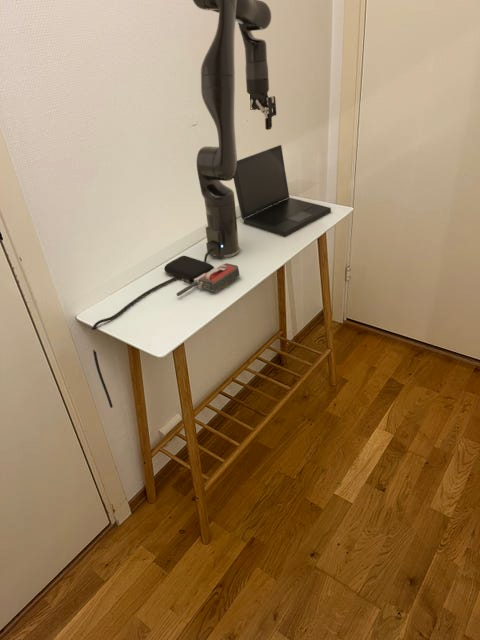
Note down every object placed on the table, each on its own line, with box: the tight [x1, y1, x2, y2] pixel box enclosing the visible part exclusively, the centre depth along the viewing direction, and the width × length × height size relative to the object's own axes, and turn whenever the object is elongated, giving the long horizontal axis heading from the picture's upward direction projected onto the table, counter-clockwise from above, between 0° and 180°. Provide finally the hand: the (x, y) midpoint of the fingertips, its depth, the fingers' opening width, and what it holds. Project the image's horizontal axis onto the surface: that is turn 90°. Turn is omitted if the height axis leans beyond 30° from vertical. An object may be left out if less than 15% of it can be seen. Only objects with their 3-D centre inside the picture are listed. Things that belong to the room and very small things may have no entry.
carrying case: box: [163, 255, 215, 283], centre depth 137 cm, size 11×3×15 cm
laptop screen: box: [232, 144, 290, 220], centre depth 167 cm, size 20×26×1 cm
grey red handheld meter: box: [176, 262, 240, 297], centre depth 128 cm, size 9×4×20 cm
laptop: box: [243, 197, 332, 238], centre depth 166 cm, size 20×26×2 cm
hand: (259, 128), depth 159 cm, fingers open, 8 cm apart
